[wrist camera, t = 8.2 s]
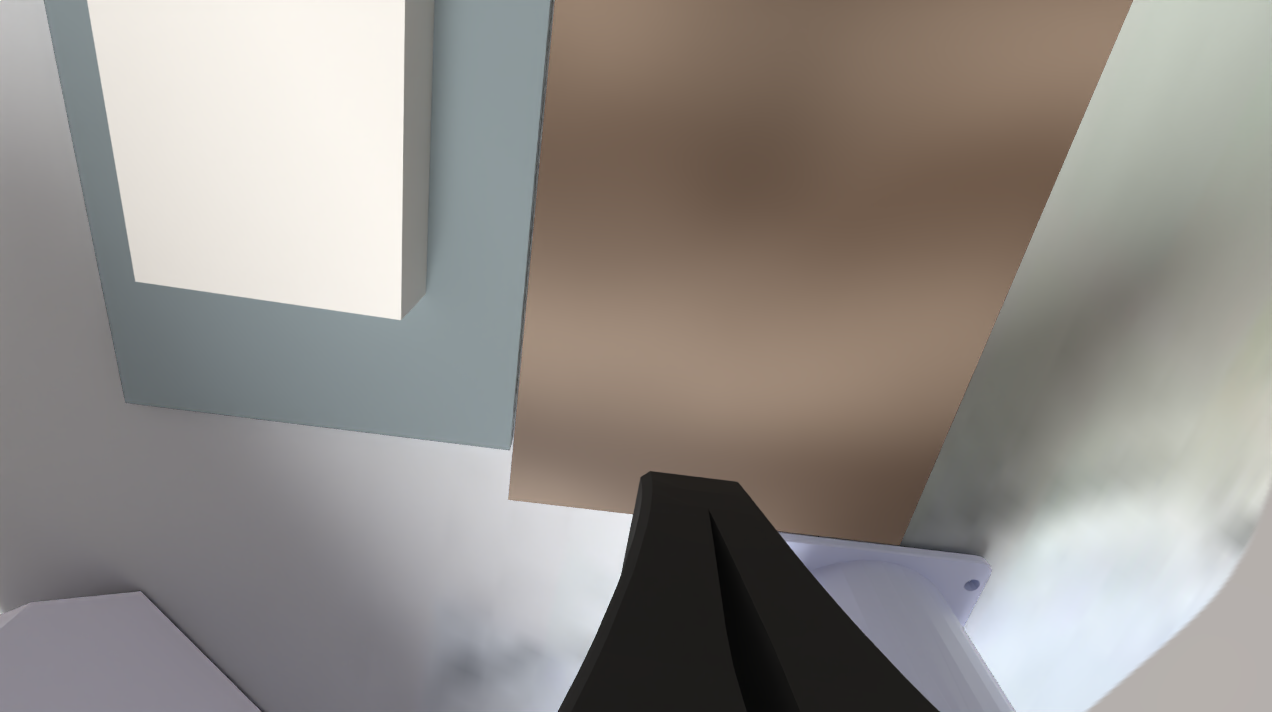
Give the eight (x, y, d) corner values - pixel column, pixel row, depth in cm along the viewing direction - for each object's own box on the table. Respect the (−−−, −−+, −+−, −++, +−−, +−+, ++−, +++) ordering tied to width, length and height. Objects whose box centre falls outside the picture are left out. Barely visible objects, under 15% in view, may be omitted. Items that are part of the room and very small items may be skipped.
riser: (846, 457, 19) (899, 545, 16) (531, 417, 18) (508, 499, 15) (1072, -174, 13) (1251, -278, 9) (604, -281, 12) (595, -443, 8)
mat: (511, 443, 19) (509, 450, 18) (135, 396, 18) (125, 402, 17) (585, -357, 12) (583, -371, 11) (-40, -505, 11) (-63, -526, 10)
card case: (135, 281, 14) (192, 258, 16) (401, 319, 14) (425, 293, 16) (49, -219, 10) (135, -174, 12) (406, -144, 11) (437, -111, 13)
